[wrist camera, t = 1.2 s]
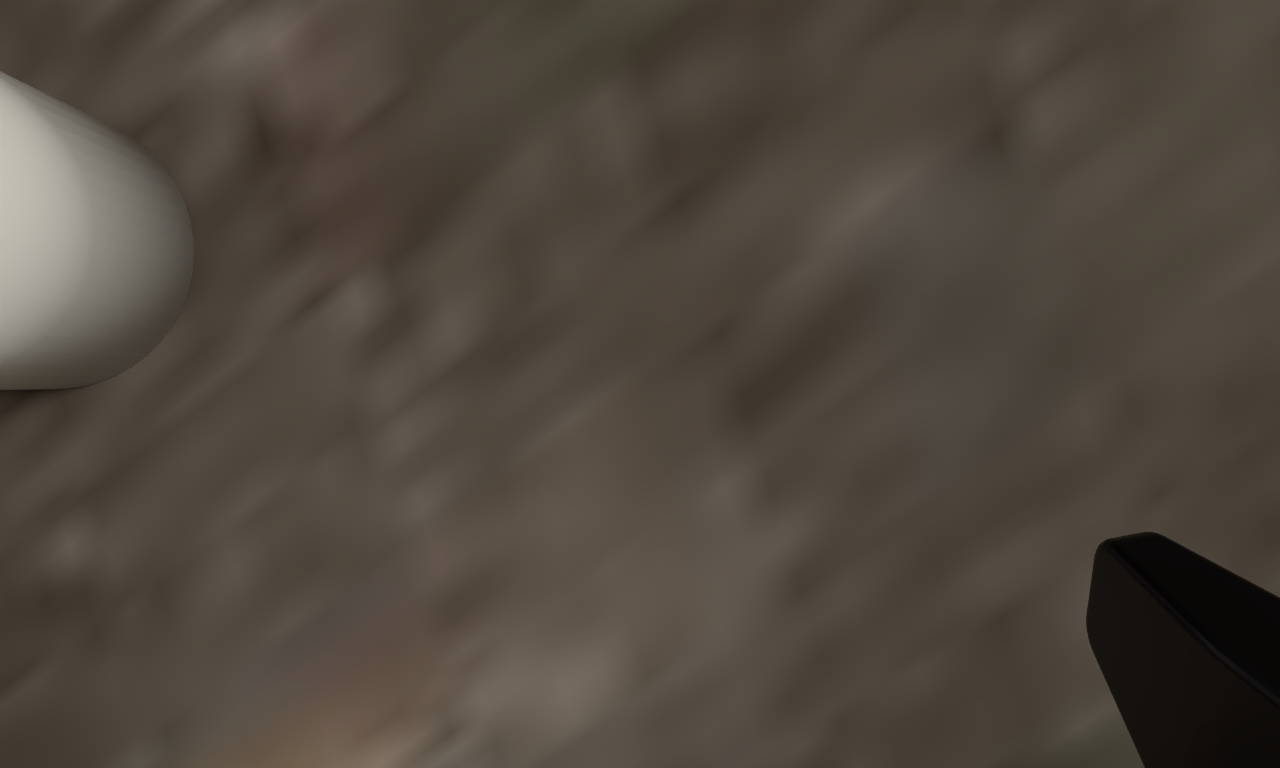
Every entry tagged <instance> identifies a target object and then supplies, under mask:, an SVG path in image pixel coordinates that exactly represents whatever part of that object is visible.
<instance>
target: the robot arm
mask: <svg viewBox="0 0 1280 768" xmlns="http://www.w3.org/2000/svg"><path fill="white" fill-rule="evenodd" d="M1086 625H1087V633H1088V638H1089V642H1090V645H1091V648H1092V650H1093V653H1094V655H1095V657H1096V660H1097V662H1098V664H1099V666H1100V669H1101V671H1102V673H1103V675H1104V677H1105V680H1106V682H1107V684H1108V686H1109V689H1110V691H1111V693H1112V695H1113V698H1114V700H1115V702H1116V704H1117V707H1118V709H1119V711H1120V713H1121V716H1122V718H1123V720H1124V722H1125V724H1126V727H1127V729H1128V731H1129V733H1130V736H1131V738H1132V740H1133V742H1134V745H1135V747H1136V749H1137V751H1138V754H1139V756H1140V758H1141V760H1142V763H1143V765H1144V767H1145V768H1280V598H1279V597H1278V596H1276V595H1274V594H1272V593H1270V592H1268V591H1266V590H1264V589H1263V588H1261V587H1259V586H1257V585H1255V584H1253V583H1251V582H1249V581H1248V580H1246V579H1244V578H1242V577H1240V576H1238V575H1236V574H1234V573H1233V572H1231V571H1229V570H1227V569H1225V568H1223V567H1221V566H1219V565H1218V564H1216V563H1214V562H1212V561H1210V560H1208V559H1206V558H1204V557H1202V556H1201V555H1199V554H1197V553H1195V552H1193V551H1191V550H1189V549H1187V548H1186V547H1184V546H1182V545H1180V544H1178V543H1176V542H1174V541H1172V540H1171V539H1169V538H1167V537H1165V536H1163V535H1160V534H1158V533H1154V532H1142V533H1137V534H1132V535H1126V536H1121V537H1116V538H1111V539H1107V540H1105V541H1103V542H1102V543H1101V544H1100V545H1099V546H1098V548H1097V550H1096V553H1095V557H1094V564H1093V571H1092V578H1091V586H1090V593H1089V600H1088V608H1087V616H1086Z"/></svg>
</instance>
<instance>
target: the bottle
mask: <svg viewBox="0 0 1280 768" xmlns="http://www.w3.org/2000/svg"><path fill="white" fill-rule="evenodd" d="M193 265H194V241H193V232H192V226H191V222H190V218H189V214H188V210H187V207H186V205H185V202H184V200H183V197H182V195H181V193H180V191H179V189H178V187H177V185H176V184H175V182H174V180H173V178H172V177H171V175H170V174H169V173H168V171H167V170H166V169H165V167H164V166H163V165H162V163H161V162H160V161H159V160H158V159H157V158H156V157H155V156H154V155H153V154H152V153H151V152H150V151H149V150H148V149H147V148H145V147H144V146H143V145H142V144H140V143H139V142H138V141H137V140H135V139H134V138H132V137H131V136H129V135H127V134H126V133H124V132H122V131H121V130H119V129H117V128H115V127H113V126H111V125H109V124H107V123H105V122H103V121H100V120H98V119H96V118H94V117H92V116H90V115H88V114H86V113H84V112H82V111H80V110H78V109H76V108H74V107H72V106H70V105H68V104H66V103H64V102H62V101H60V100H58V99H55V98H53V97H51V96H49V95H47V94H45V93H43V92H41V91H39V90H37V89H35V88H33V87H31V86H29V85H27V84H25V83H23V82H21V81H19V80H17V79H15V78H13V77H10V76H8V75H6V74H4V73H2V72H0V390H36V389H68V388H77V387H83V386H87V385H91V384H95V383H99V382H102V381H104V380H107V379H109V378H112V377H114V376H116V375H118V374H120V373H122V372H124V371H125V370H127V369H129V368H131V367H132V366H134V365H135V364H136V363H138V362H139V361H140V360H142V359H143V358H145V357H146V356H147V355H148V354H149V353H150V352H151V351H152V350H153V349H154V348H155V347H156V346H157V345H158V344H159V343H160V342H161V341H162V339H163V338H164V337H165V335H166V334H167V333H168V332H169V330H170V329H171V327H172V326H173V324H174V322H175V321H176V319H177V317H178V316H179V314H180V311H181V309H182V307H183V304H184V302H185V300H186V297H187V294H188V290H189V287H190V283H191V278H192V271H193Z"/></svg>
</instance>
